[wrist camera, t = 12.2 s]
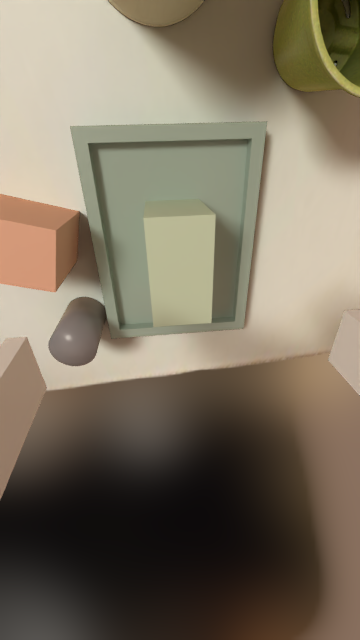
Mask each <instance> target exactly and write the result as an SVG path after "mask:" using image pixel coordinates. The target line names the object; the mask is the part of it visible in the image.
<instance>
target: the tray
mask: <svg viewBox="0 0 360 640" xmlns="http://www.w3.org/2000/svg"><path fill="white" fill-rule="evenodd" d="M266 127H267V122H226V123H185V124H144V125H103V126H70V129H71V134H72V139H73V144H74V150H75V155H76V160H77V165H78V170H79V175H80V181H81V186H82V191H83V196H84V201H85V206H86V211H87V217H88V222H89V227H90V232H91V237H92V242H93V247H94V253H95V258H96V263H97V268H98V273H99V278H100V283H101V289H102V294H103V299H104V304H105V309H106V314H107V319H108V325H109V330H110V335H111V339H114V338H127V337H140V336H154V335H167V334H180V333H194V332H207V331H220V330H234V329H244V320H245V311H246V303H247V294H248V285H249V276H250V267H251V259H252V250H253V241H254V232H255V223H256V215H257V206H258V197H259V188H260V180H261V171H262V162H263V153H264V144H265V136H266ZM184 199H199V200H201V201H202V202H203V203H204V204H205V205H206V206H207V207H208V208H209V209H210V210H211V211H212V212H214V213H215V214H216V220H215V245H214V270H213V296H212V321H211V323H204V324H190V325H176V326H163V327H153V316H152V305H151V295H150V284H149V273H148V262H147V252H146V241H145V230H144V219H143V217H144V208H145V201H161V200H184Z"/></svg>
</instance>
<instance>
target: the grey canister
mask: <svg viewBox="0 0 360 640" xmlns="http://www.w3.org/2000/svg"><path fill="white" fill-rule="evenodd" d="M105 319H106V311H105V309H104V307H103V306H102V304H101V303H100V302H98V301H97V300H95V299H93V298H89V297H79V298H76V299H74V300H72V301H71V302H70V303H69V305H68V307H67V309H66V310H65V312H64V314H63V316H62V318H61V320H60V321H59V323H58V325H57V327H56V329H55V331H54V333H53V334H52V336H51V338H50V340H49V350H50V353H51V354H52V356H53V357H54V358H55V359H56V360H58V361H59V362H61V363H63V364H66V365H70V366H81V365H85V364H87V363H89V362H91V361H92V360H93V359H94V357H95V356H96V353H97V349H98V345H99V341H100V338H101V334H102V330H103V327H104V323H105Z"/></svg>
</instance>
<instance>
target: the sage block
mask: <svg viewBox="0 0 360 640" xmlns="http://www.w3.org/2000/svg"><path fill="white" fill-rule="evenodd" d="M143 219H144V230H145V241H146V252H147V262H148V273H149V284H150V295H151V305H152V316H153V327H163V326H176V325H190V324H204V323H211V321H212V296H213V270H214V245H215V220H216V214H215V213H214V212H212V211H211V210H210V209H209V208H208V207H207V206H206V205H205V204H204V203H203V202H202V201H201V200H199V199H184V200H161V201H145V208H144V217H143Z"/></svg>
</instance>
